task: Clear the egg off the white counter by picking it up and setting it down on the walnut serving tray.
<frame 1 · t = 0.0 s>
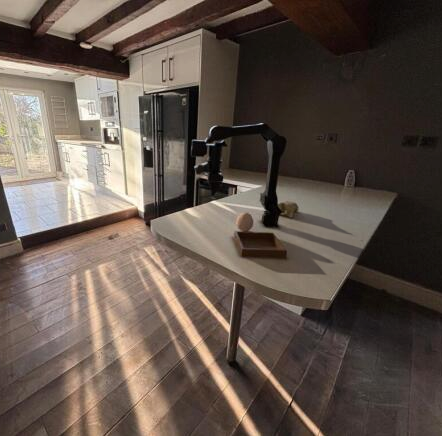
hand: (211, 192, 105), 15 cm above the table, tool pointing down, fingers open, 9 cm apart
fossil: (287, 213, 125), on the table
egg: (243, 230, 103), on the table
tray: (257, 247, 89), on the table
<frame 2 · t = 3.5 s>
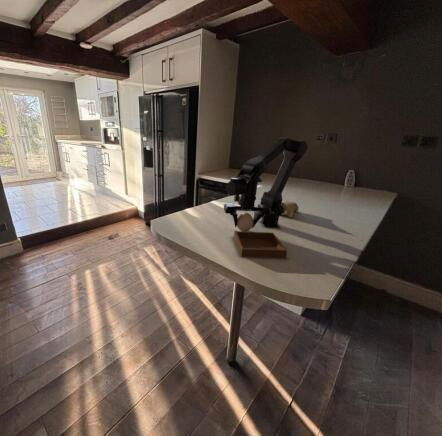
hand: (244, 227, 102), 2 cm above the table, tool pointing down, fingers closed on egg, 7 cm apart
egg: (243, 230, 103), on the table, touching gripper
everything else where it was.
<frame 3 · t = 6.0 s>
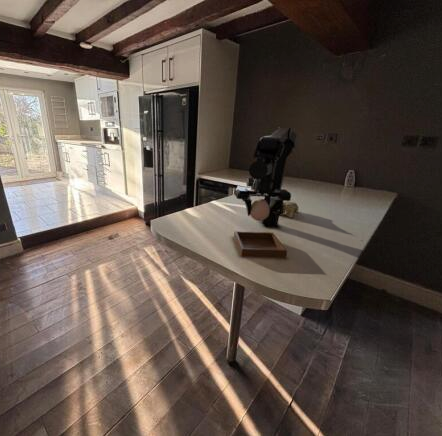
hand: (258, 216, 87), 12 cm above the table, tool pointing down, fingers closed on egg, 7 cm apart
egg: (257, 220, 88), point 10 cm above the table, touching gripper
everything else where it was.
when the fingers open (2 cm above the table, at t = 9.0 s): egg stays where it is, resting on tray.
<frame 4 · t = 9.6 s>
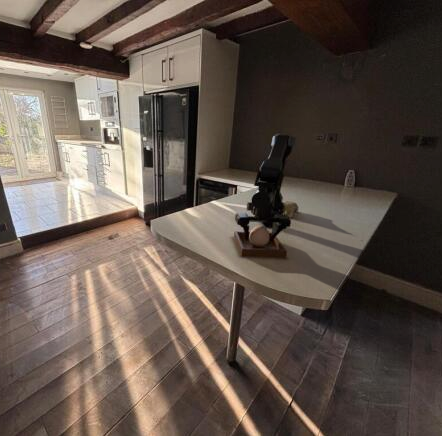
hand: (258, 240, 87), 3 cm above the table, tool pointing down, fingers open, 9 cm apart
egg: (257, 246, 88), resting on tray
everything else where it was.
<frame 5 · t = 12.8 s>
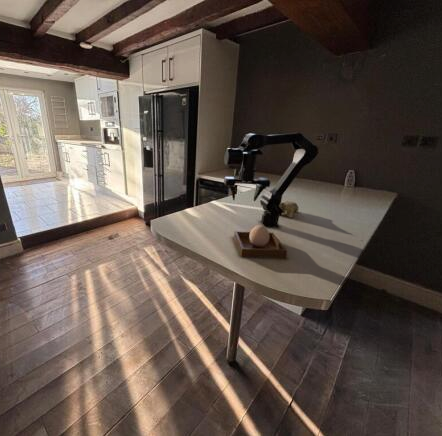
hand: (243, 200, 103), 12 cm above the table, tool pointing down, fingers open, 9 cm apart
nothing on the table moved.
at the end: egg inside the target area in the tray (0.1 cm from its centre), point 0.4 cm above the tray's base; the gripper is holding nothing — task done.
